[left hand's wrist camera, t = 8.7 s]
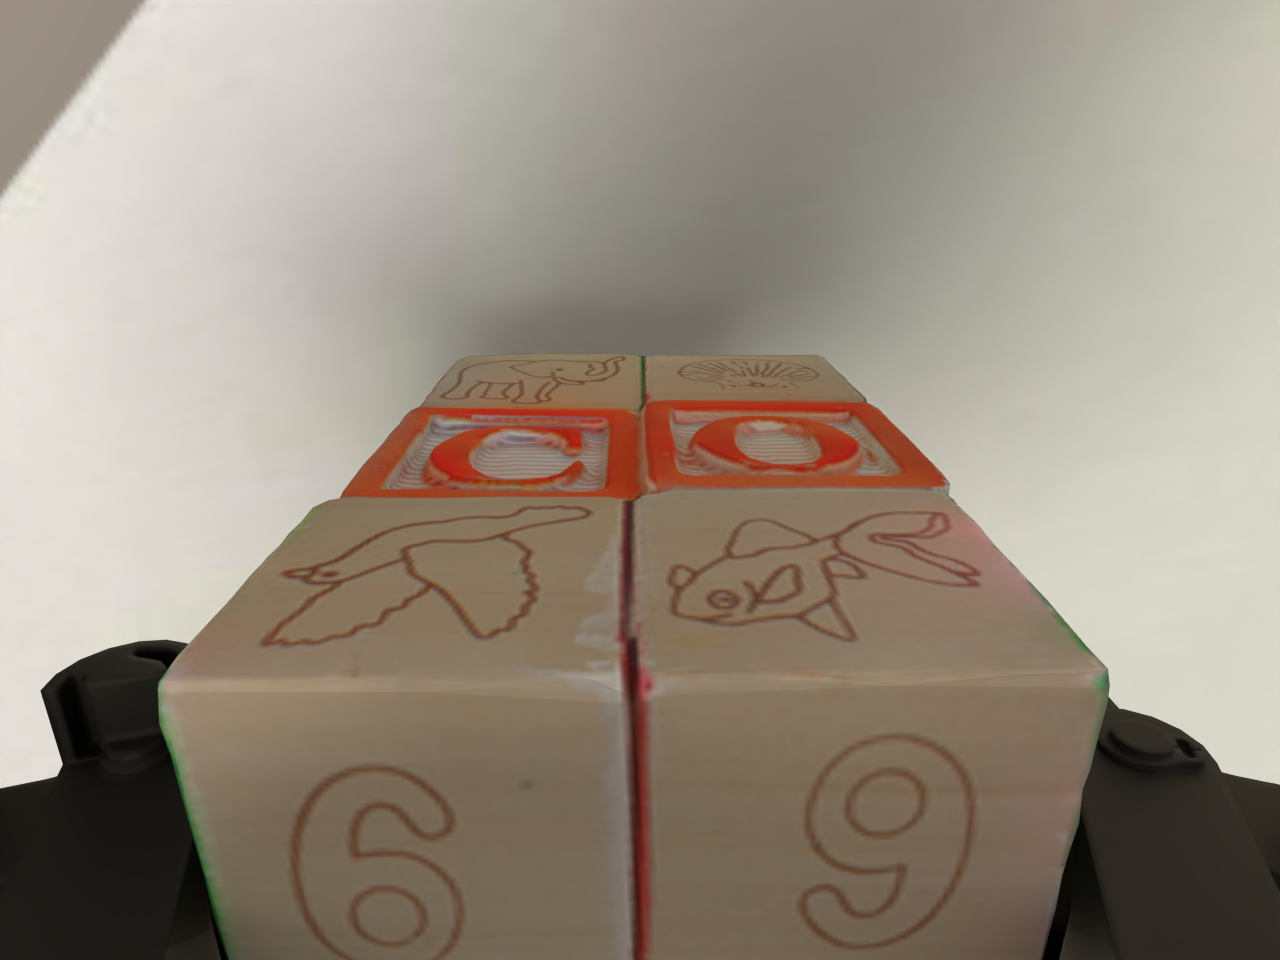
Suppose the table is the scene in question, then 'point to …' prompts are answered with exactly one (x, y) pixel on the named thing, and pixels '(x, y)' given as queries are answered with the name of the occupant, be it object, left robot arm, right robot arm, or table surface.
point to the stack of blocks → (636, 688)
